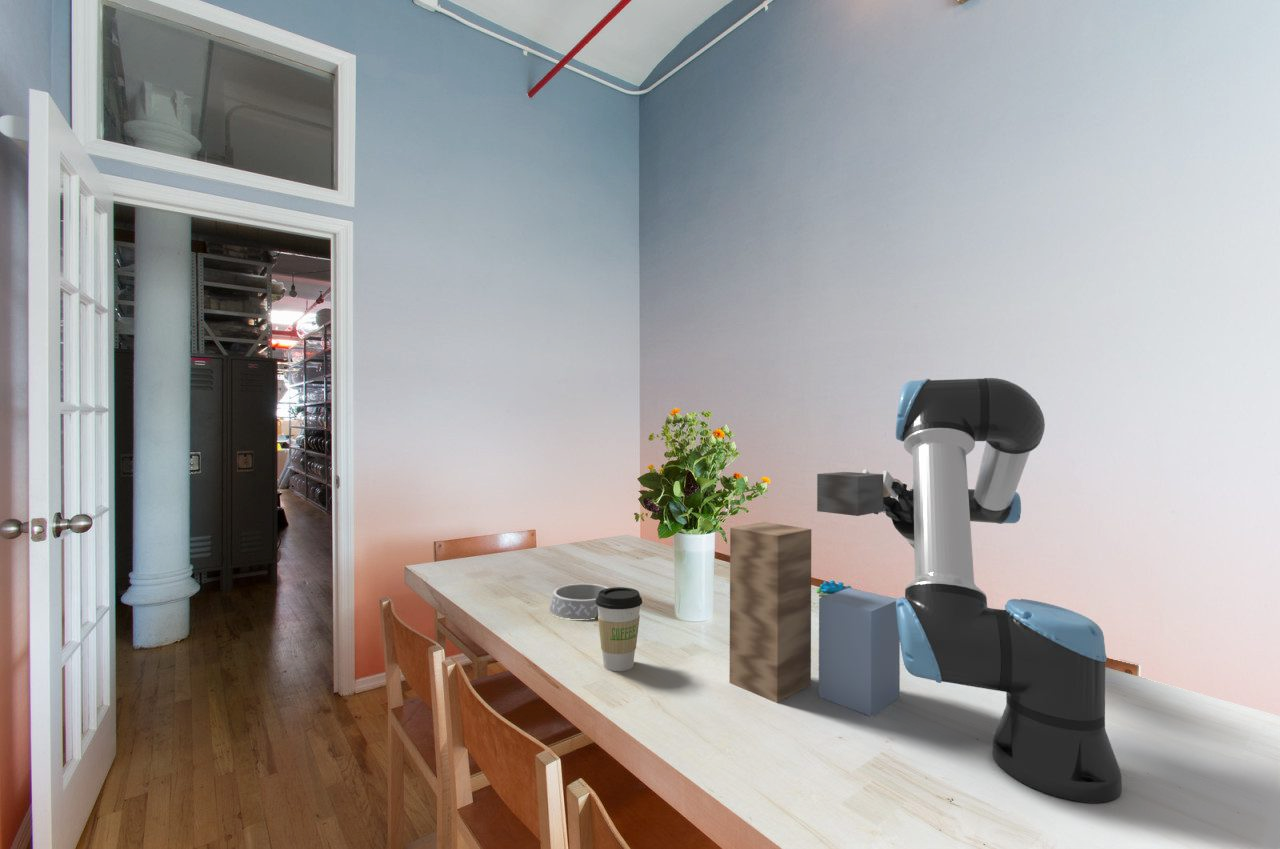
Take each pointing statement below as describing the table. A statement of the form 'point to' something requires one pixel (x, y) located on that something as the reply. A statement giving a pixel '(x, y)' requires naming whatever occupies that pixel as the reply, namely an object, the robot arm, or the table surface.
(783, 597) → the walnut pedestal
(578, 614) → the dog bowl
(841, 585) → the blue knobbly piece
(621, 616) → the coffee cup
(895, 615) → the slate stand
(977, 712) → the table surface
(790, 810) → the table surface
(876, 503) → the rubber mallet
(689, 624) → the table surface
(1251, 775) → the table surface
